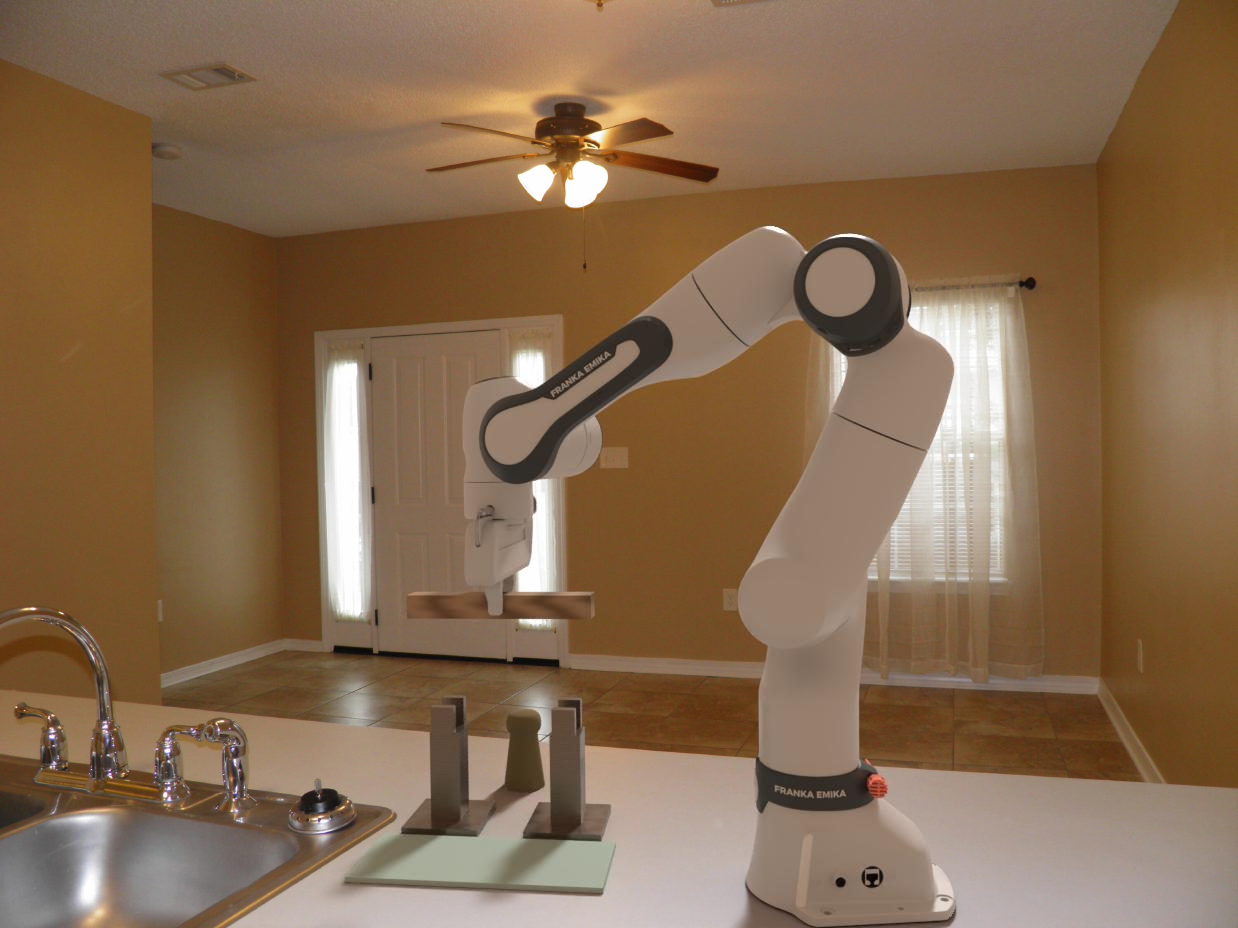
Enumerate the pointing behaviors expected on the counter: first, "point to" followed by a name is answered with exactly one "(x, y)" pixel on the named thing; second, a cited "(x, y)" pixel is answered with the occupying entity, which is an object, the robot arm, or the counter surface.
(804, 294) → the robot arm
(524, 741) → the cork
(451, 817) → the cradle posts
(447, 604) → the walnut rail
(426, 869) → the green mat
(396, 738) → the counter surface
